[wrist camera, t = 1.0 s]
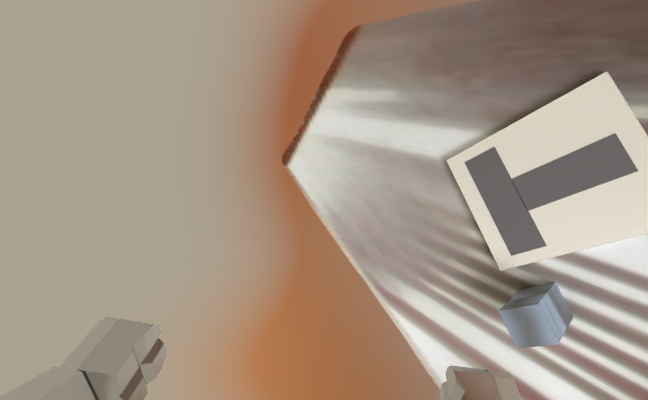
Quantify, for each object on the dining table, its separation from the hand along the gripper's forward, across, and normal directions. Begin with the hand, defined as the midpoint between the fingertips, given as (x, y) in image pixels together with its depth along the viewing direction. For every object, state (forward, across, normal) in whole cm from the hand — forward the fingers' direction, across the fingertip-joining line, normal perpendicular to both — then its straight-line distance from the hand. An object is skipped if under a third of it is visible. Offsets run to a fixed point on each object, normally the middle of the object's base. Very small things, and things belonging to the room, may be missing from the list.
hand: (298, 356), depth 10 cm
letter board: (+35, -25, +10) cm, 44 cm away
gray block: (+30, -27, +24) cm, 47 cm away
